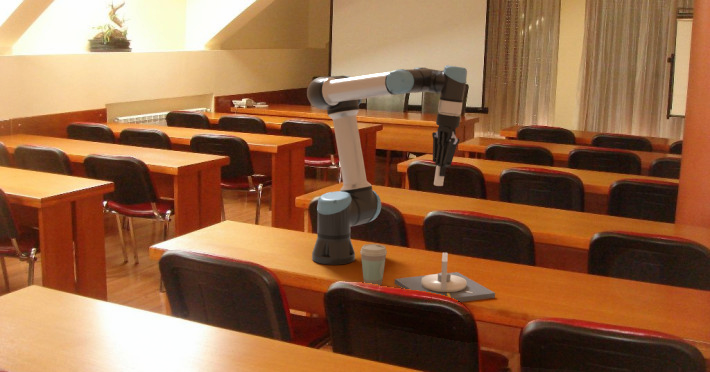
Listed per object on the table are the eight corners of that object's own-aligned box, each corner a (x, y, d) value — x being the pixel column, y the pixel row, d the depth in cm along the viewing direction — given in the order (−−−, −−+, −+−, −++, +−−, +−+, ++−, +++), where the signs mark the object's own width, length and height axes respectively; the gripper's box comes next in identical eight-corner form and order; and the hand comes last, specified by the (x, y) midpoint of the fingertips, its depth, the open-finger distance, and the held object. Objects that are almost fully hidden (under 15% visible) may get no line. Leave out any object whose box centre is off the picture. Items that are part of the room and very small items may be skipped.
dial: (422, 277, 255) (423, 245, 253) (466, 279, 253) (467, 248, 251) (419, 293, 238) (421, 260, 236) (466, 296, 236) (468, 262, 234)
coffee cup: (383, 288, 248) (384, 251, 246) (357, 286, 250) (357, 249, 248) (388, 280, 256) (389, 244, 254) (362, 278, 258) (363, 242, 256)
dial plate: (394, 283, 253) (394, 278, 253) (457, 276, 262) (457, 271, 262) (428, 306, 232) (428, 300, 232) (494, 297, 241) (495, 292, 241)
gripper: (470, 117, 251) (458, 190, 255) (447, 112, 263) (437, 181, 267) (450, 116, 248) (439, 189, 252) (428, 110, 259) (418, 180, 263)
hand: (438, 185), depth 259 cm, fingers closed
